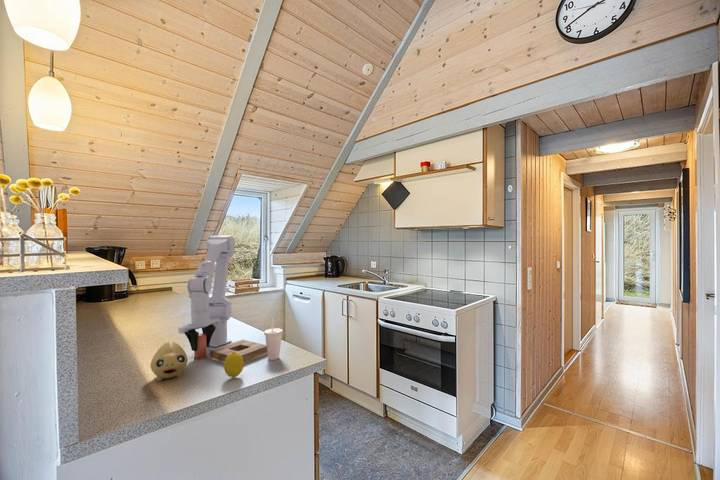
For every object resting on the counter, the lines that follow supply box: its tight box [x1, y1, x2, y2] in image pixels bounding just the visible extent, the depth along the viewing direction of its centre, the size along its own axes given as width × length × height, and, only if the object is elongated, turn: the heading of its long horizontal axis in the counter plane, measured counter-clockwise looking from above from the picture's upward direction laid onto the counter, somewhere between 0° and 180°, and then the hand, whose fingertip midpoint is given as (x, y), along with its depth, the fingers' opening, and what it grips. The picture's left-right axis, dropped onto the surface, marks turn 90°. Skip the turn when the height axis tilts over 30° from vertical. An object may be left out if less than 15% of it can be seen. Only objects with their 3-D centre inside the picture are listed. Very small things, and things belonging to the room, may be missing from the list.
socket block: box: [209, 339, 268, 364], centre depth 117 cm, size 14×14×3 cm
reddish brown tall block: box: [193, 333, 208, 361], centre depth 116 cm, size 4×4×8 cm
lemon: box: [223, 352, 245, 379], centre depth 98 cm, size 6×6×8 cm
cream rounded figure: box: [149, 341, 189, 381], centre depth 99 cm, size 10×12×11 cm
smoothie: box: [263, 318, 284, 361], centre depth 115 cm, size 6×6×14 cm
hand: (200, 348), depth 116 cm, fingers closed on reddish brown tall block, 4 cm apart
